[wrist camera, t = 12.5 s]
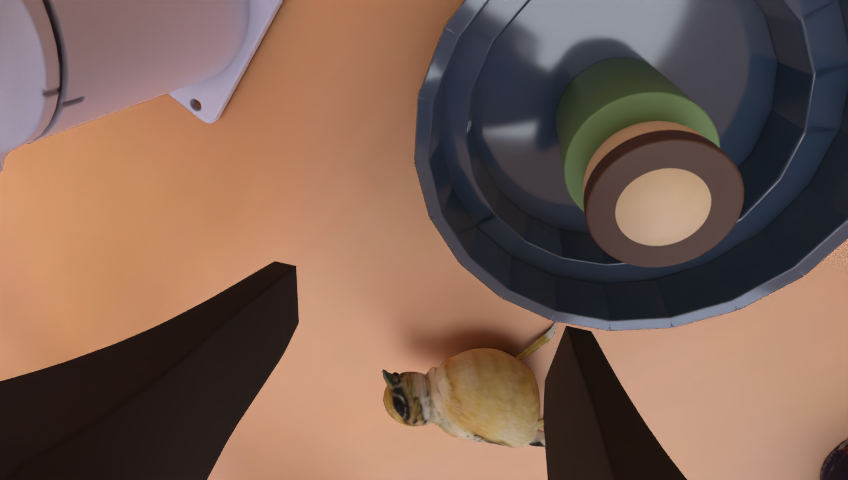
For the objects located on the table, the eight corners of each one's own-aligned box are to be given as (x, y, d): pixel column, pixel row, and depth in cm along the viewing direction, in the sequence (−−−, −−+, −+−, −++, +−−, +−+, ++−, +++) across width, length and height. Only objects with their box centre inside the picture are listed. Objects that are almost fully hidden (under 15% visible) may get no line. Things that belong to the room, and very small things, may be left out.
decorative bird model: (584, 336, 18) (364, 416, 20) (628, 479, 25) (463, 531, 27) (548, 271, 22) (364, 343, 23) (595, 412, 29) (451, 461, 30)
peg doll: (533, 117, 17) (535, 214, 11) (621, 31, 15) (692, 85, 9) (603, 184, 18) (645, 314, 11) (696, 111, 16) (813, 218, 9)
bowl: (379, 118, 19) (337, 162, 15) (650, -222, 12) (709, -315, 8) (587, 301, 22) (601, 381, 18) (901, 101, 15) (1042, 153, 11)
